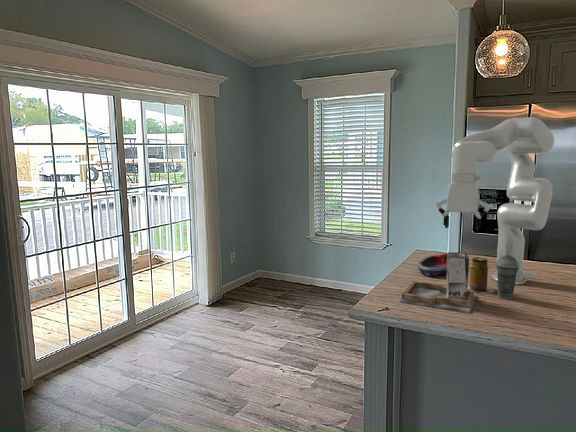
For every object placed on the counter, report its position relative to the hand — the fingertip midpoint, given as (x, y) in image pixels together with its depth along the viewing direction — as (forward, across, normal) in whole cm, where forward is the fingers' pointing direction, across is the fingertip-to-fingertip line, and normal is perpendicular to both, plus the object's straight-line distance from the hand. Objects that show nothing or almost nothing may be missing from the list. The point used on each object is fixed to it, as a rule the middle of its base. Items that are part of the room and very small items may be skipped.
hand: (461, 228), depth 148 cm
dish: (+27, +14, -40) cm, 50 cm away
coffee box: (+26, +1, 0) cm, 26 cm away
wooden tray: (+26, +6, 0) cm, 27 cm away
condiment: (+27, -5, -17) cm, 32 cm away
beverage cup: (+27, -14, -12) cm, 33 cm away
